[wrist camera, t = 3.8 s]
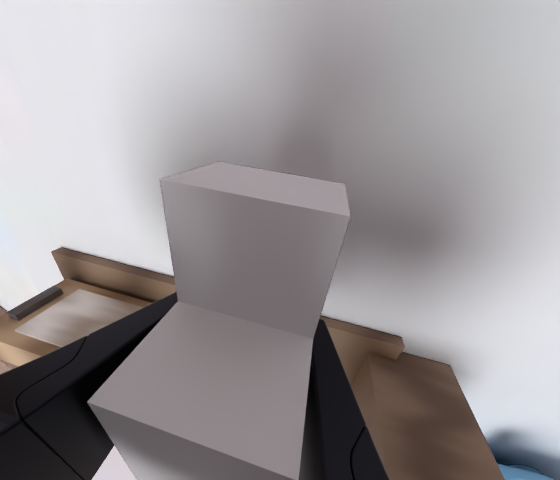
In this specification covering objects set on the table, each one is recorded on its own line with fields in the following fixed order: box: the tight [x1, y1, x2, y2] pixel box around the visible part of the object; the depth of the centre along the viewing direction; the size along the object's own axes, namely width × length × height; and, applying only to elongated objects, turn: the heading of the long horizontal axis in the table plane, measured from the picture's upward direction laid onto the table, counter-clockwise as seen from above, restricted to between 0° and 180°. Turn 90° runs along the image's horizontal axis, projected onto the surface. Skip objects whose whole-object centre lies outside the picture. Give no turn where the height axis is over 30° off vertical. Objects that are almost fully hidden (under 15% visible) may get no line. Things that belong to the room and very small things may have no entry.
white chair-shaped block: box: [87, 162, 351, 480], centre depth 7 cm, size 4×9×6 cm, turn 173°
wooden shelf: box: [51, 248, 505, 480], centre depth 16 cm, size 34×8×8 cm, turn 83°
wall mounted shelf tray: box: [0, 279, 152, 366], centre depth 17 cm, size 12×4×6 cm, turn 83°
